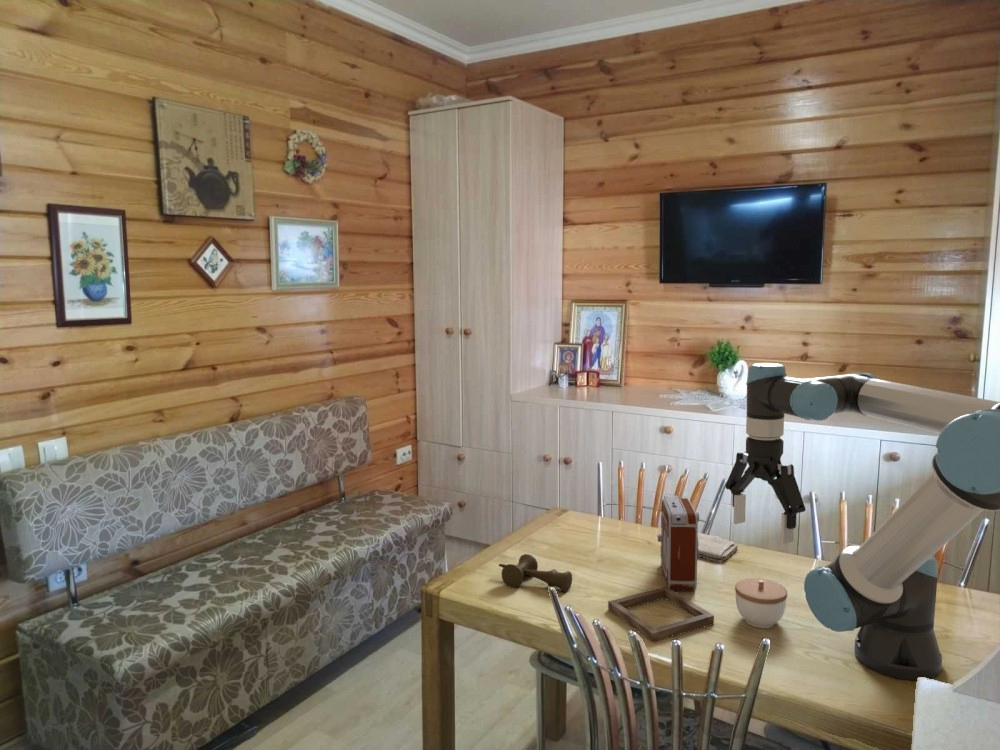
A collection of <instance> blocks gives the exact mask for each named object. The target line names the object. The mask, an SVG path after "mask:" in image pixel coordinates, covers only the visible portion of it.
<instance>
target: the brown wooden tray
mask: <svg viewBox="0 0 1000 750" xmlns="http://www.w3.org/2000/svg"><path fill="white" fill-rule="evenodd" d="M661 598H663V599H666V600H667V599H668V600H667V601H669V602H670V601H671V603H672V602H673V603H674V604H673V603H672V604H673V605H675V604H676V605H675V606H676V607H678V606H679V607H678V608H680V609H681V608H682V609H681V610H683V611H684V610H685V612H686V611H687V612H686V613H688V614H689V615H690V616H692V615H693V616H692V617H689V618H687V619H682V620H680V621H675V622H672V623H668V624H666V625H662V626H659V627H658V626H657V627H655V628H654V627H652V626H651V625H649V624H648V623H647V622H645V621H644V620H643V619H641V618H640V617H638V615H635V614H634V613H633V612H631V611H630V610H629V607H630V608H633V606H634V607H636V606H640V605H645V604H647V602H649V603H651V601H652V602H655V601H654V600H656V601H658V600H657V599H660V600H662V599H661ZM607 603H608V606H607V609H608V611H610V612H611V613H612V614H614V615H615V616H616V617H617V618H619V619H620V618H621V619H620V620H622V621H623V622H624V621H625V622H624V623H625V624H627V623H628V624H629V627H631V628H632V627H633V629H634V628H635V629H636V630H635V629H634V630H635V631H637V632H638V631H639V632H640V633H639V632H638V633H639V634H641V635H642V636H643V637H645V638H647V640H649V641H650V642H652V643H655V642H659V641H662V640H665V639H664V638H666V639H668V638H667V637H669V638H672V637H675V636H674V635H676V636H677V634H679V635H681V634H680V633H682V634H685V633H684V632H686V633H689V632H691V631H695V630H694V629H696V630H698V629H697V628H699V629H701V627H702V628H705V627H704V626H706V627H708V626H707V625H709V626H711V625H710V624H712V625H714V624H713V623H714V622H715V615H714V614H712V613H711V612H709V611H708V610H705V609H704V608H702V607H700V606H699V605H697V604H696V603H694V602H693V601H692V600H689V599H687V598H686V597H684V596H682V595H681V594H680V593H677V592H676V591H675V590H671V589H670V588H668V587H667V586H666V585H665V586H662V587H658V588H654V589H651V590H646V591H642V592H640V593H636V594H631V595H628V596H624V597H623V596H622V597H620V598H616V599H612V600H608V602H607ZM644 603H645V604H644ZM628 624H627V625H628ZM688 631H689V632H688ZM672 635H673V636H672ZM671 636H672V637H671ZM661 639H662V640H661Z"/></svg>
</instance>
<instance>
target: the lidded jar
mask: <svg viewBox="0 0 1000 750" xmlns="http://www.w3.org/2000/svg"><path fill="white" fill-rule="evenodd" d="M734 590H735V603H736V608H737V610H738V613H739V614H740V616H741V617H742V618H743V619H744V620H745V622H746V623H747V624H748V625H750V626H752V627H754V626H755V628H758V627H759V628H758V629H771V628H772V627H774V626H775V624H776V623H779V621H781V620H782V618H783V616H784V615H785V611H786V607H787V598H788V591H787V588H786V587H785V586H783V585H782V584H781V583H779V582H776V581H773V580H770V579H767V578H766V579H765V578H760V577H752V578H751V577H749V578H743V579H740V580H739V581H737V582H736V584H735V586H734ZM760 627H761V628H760ZM768 627H769V628H768Z"/></svg>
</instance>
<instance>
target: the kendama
mask: <svg viewBox="0 0 1000 750" xmlns="http://www.w3.org/2000/svg"><path fill="white" fill-rule="evenodd" d="M538 565H539V564H538V561H537V559H536V557H534V556H533V555H531V554H526V553H524V554H522V555H520V557H519V559H518V563H517V564H511V563H508V564H504V563H499V564H498V566H499V567H501V568H502V569H501V580H502V581H503V583H504V584H505V585H506V586H507V587H509V586H510V587H509V588H514V589H517V588H519V587H521V585H522V584H523V581H524V576H530V577H532V578H535V579H537V580H540V581H542V582H543V583H545V584H547V586H548V587H549V586H553V587H555V588H558V589H560V590H561V592H563V593H567V592H569V590H570V588H571V587H572V583H573V574H572V572H571V571H568V570H567V571H565V572H559V571H557V569H555V568H553V569H551V570H547V571H546V570H538V568H539V566H538Z"/></svg>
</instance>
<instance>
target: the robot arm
mask: <svg viewBox="0 0 1000 750" xmlns="http://www.w3.org/2000/svg"><path fill="white" fill-rule="evenodd" d="M747 368H748V369H747V377H746V383H745V384H746V422H745V434H746V435H747V436H746V438H745V451H739V452H737V453H736V456H735V463H734V464H733V467H732V470H731V471H730V474H729V476H728V478H727V480H726V483H725V486H724V487H725V489H726V490H729V491H730V493H731V495H732V498H731V499H732V502H731V503H732V504H731V505H732V507H733V524H734V525H738V524H743V523H745V522H746V502H747V501H746V500H747V497H746V495H747V494H746V493H745V492H746V491H745V490H746V489H747V487H749V485H750V484H751V483H752V482H753V481H754V479H760V480H762V481H764V482H767V483H768V485H770V486H771V488H772V489H773V490H772V491H774V493H775V496H776V498H777V499H778V501H779V502H780V504H781V506H782V509H783V510H784V511H783V512H781V528H780V532H781V533H780V544H783V545H785V544H789V543H794V532H795V531H794V530H795V529H796V527H797V514H800V513H804V512H805V511H806V510H807V509H806V506H805V503H804V500H803V498H802V494H801V492H800V488H799V485H798V483H797V479H796V477H795V467H794V464H793V463H790V464H783V463H782V462H781V461H782V460H781V458H782V456H783V455H784V438H783V437H782V436H784V430H785V429H784V427H785V415H790V416H793V417H798V418H800V419H804V420H806V421H811V420H812V421H817V422H819V421H825V420H827V419H828V418H829V417H831V416H832V415H833V414H838V413H840V414H841V413H854V414H858V415H863V416H868V417H870V418H875V419H880V420H884V421H886V422H887V421H888V422H892V423H895V424H900V425H903V426H908V427H912V428H915V429H919V430H922V431H927V432H930V433H935V434H939V435H938V438H937V440H936V444H935V448H936V449H937V452H936V453H935V454H934V456H933V457H932V459H931V467H932V471H933V472H932V473H931V474H930V475H929V476H928V477H927V478H925V480H924V481H923V482H922V483H921V484H920V485H919V486H918V487H917V488H916V489H915V490H914V491H913V492H912V493H911V494H910V495H909V496H908V498H906V499H905V500H904V501H903V502H902V503H901V504H900V506H898V507H897V509H896V510H895V511H893V513H891V514H890V516H888V518H887V519H885V521H884V522H882V524H881V525H880V526H878V528H877V529H876V530H875V531H874V532H873V533H872V534H871V535H870V536H868V537H867V539H866V540H865V541H864V542H863V543H861V545H858V544H856V545H854V544H853V545H850V546H848V547H845V549H843V550H842V551H841V552H840V553H839V554H838V555H837V556H836V557H835V558H834V559H833V560H832V561H831V562H830V563H829V564H826V565H825V566H817V567H815V568H814V569H812V570H809V572H808V573H806V576H805V578H804V582H803V583H804V584H803V590H804V593H805V595H804V596H805V600H806V603H807V605H808V607H809V610H810V611H811V613H812V615H813V616H814V617H815V618H816V620H817V621H818V622H819V623H820V624H821V625H822V626H824V627H825V628H827V629H830V630H831V631H833V632H836V633H842V632H852V631H854V630H855V629H859V630H858V632H857V634H856V637H855V639H854V648H853V650H854V651H853V653H854V655H855V656H856V658H857V659H858V660H859V661H860V663H862V664H863V665H865V666H866V667H868V668H869V669H871V670H872V671H875V672H877V673H880V674H883V675H885V676H888V677H891V678H896V679H900V680H907V681H918V680H917V678H918V677H926V678H931V679H934V678H936V677H938V676H939V675H940V674H941V672H942V671H943V670H942V668H943V667H942V666H943V656H942V653H941V652H940V651H941V650H940V647H939V644H938V639H937V636H936V634H935V629H934V627H935V615H936V600H937V590H938V589H937V588H938V579H939V574H938V572H939V570H938V568H939V567H938V564H939V563H938V561H937V559H936V558H935V556H934V555H935V554H936V553H937V552H938V551H939V550H941V549H942V548H943V547H944V546H945V545H946V544H947V543H948V542H950V541H951V540H952V539H954V538H955V536H956V535H958V534H959V533H960V532H961V531H962V530H963V529H964V528H965V527H966V526H967V525H969V524H970V523H971V522H972V521H973V520H974V519H975V518H977V517H978V515H980V514H981V513H982V512H983V511H986V512H999V511H1000V401H997V400H996V401H995V400H991V399H985V398H979V397H975V396H969V395H966V394H965V395H964V394H959V393H954V392H953V393H952V392H947V391H943V390H937V389H932V388H925V387H921V386H916V385H911V384H905V383H900V382H893V381H889V380H883V379H880V378H879V377H876V375H874V374H872V373H868V372H852V373H847V374H839V375H832V376H831V375H830V376H819V377H812V378H811V377H810V378H798V377H791V376H787V372H786V371H787V370H786V367H785V365H784V364H781V363H776V362H775V363H773V362H758V363H753V364H750V365H749V366H748V367H747ZM747 466H748V467H747ZM932 677H933V678H932Z"/></svg>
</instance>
